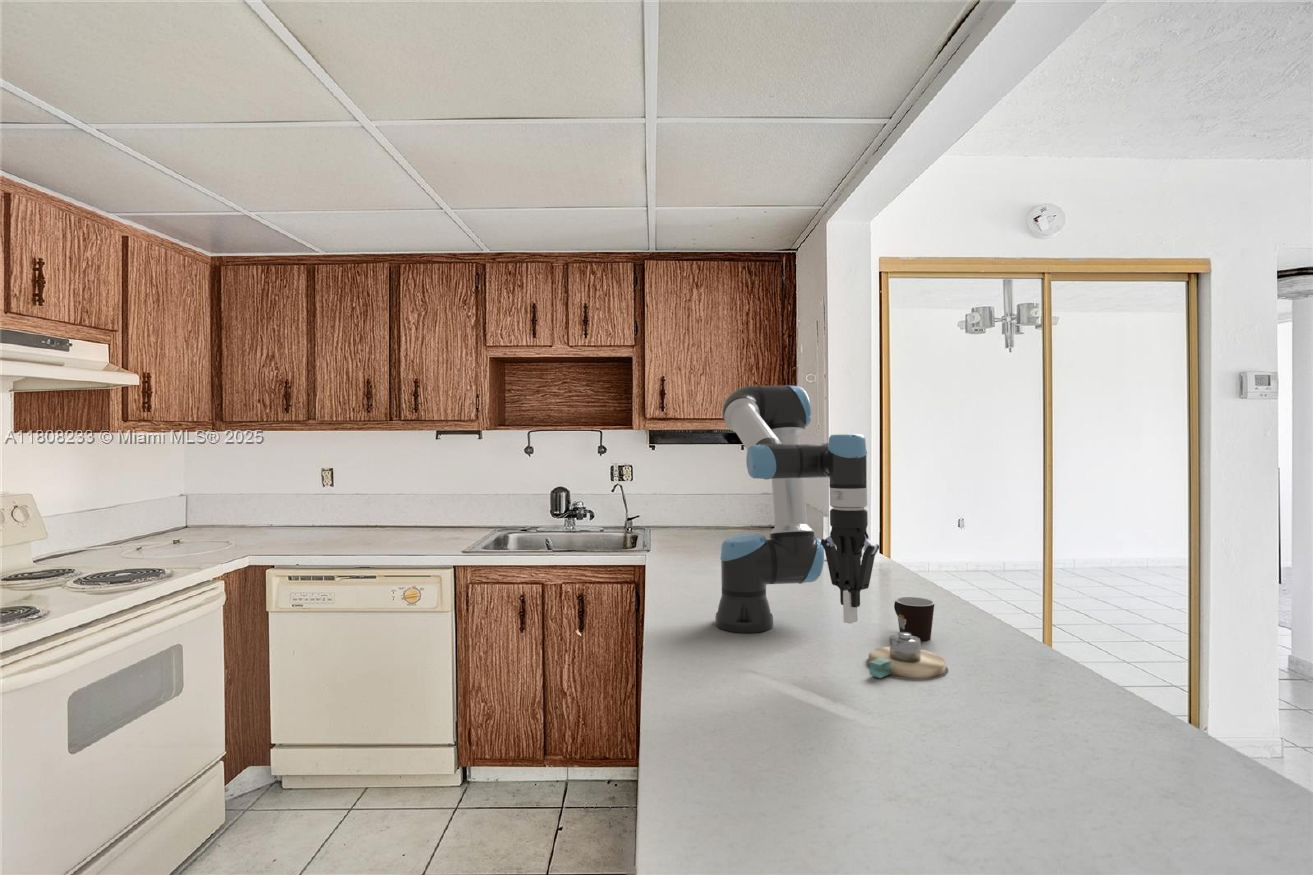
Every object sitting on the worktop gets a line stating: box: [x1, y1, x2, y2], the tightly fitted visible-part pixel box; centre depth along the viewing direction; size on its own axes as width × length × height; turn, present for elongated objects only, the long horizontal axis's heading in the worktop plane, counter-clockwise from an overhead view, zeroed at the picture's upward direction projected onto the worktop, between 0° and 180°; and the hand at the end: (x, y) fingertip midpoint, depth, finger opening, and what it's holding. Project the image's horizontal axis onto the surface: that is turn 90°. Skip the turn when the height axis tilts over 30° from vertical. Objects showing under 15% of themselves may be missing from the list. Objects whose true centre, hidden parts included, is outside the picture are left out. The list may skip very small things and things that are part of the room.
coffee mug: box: [893, 596, 935, 643], centre depth 156 cm, size 12×9×10 cm
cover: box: [889, 631, 922, 663], centre depth 136 cm, size 6×6×5 cm
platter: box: [868, 646, 947, 679], centre depth 135 cm, size 19×15×3 cm
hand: (850, 621), depth 135 cm, fingers closed
